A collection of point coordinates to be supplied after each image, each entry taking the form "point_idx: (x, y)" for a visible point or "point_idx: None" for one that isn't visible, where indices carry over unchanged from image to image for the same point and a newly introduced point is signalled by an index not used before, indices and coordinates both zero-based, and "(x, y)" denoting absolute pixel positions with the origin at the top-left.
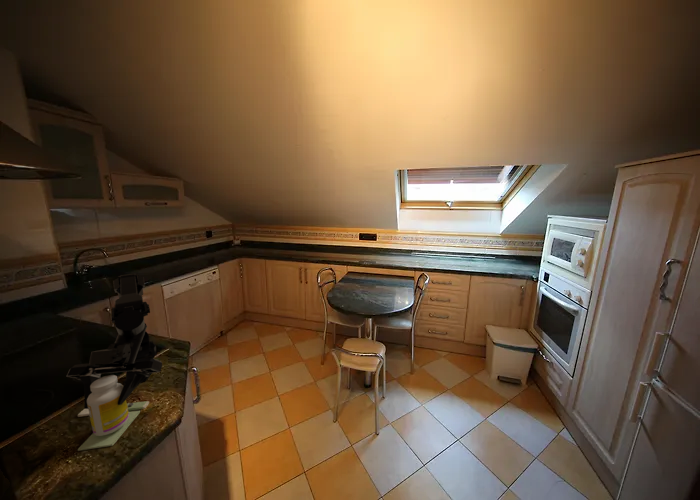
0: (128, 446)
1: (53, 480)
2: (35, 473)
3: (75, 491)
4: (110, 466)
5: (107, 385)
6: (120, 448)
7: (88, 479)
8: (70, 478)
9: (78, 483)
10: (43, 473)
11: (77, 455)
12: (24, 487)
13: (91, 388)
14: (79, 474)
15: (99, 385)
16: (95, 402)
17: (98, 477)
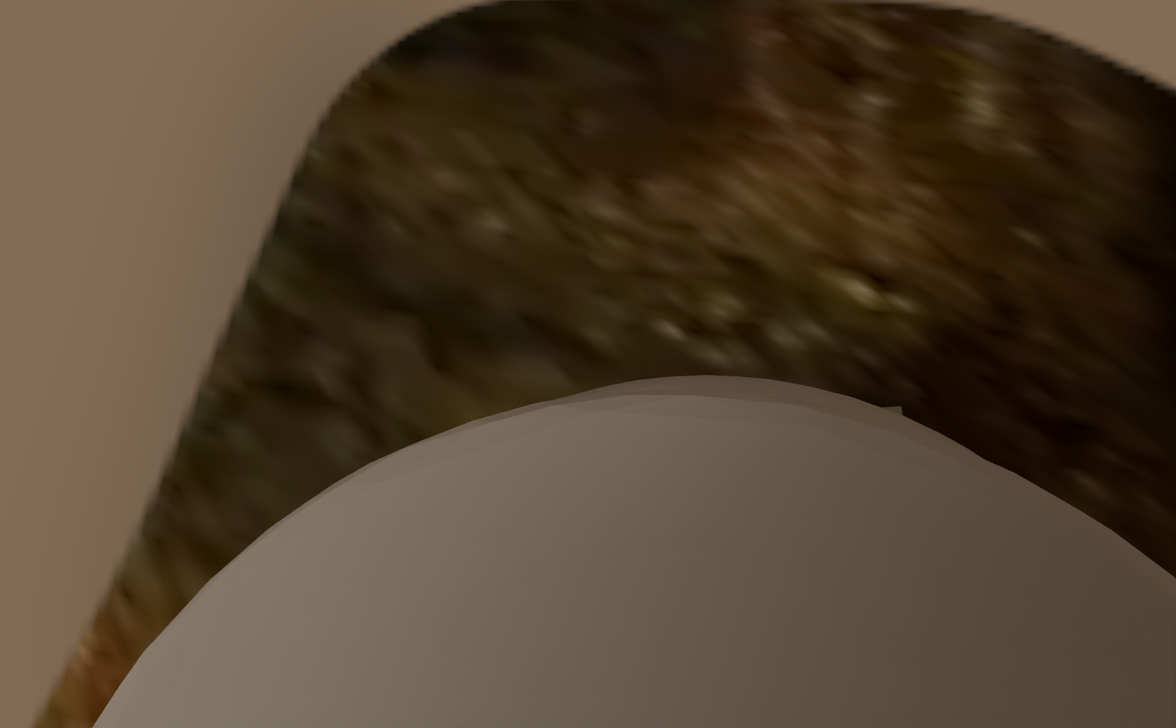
0: (335, 412)
1: (820, 102)
2: (1113, 176)
3: (512, 12)
4: (372, 204)
5: (191, 656)
6: (407, 395)
7: (484, 99)
8: (665, 114)
9: (546, 70)
10: (1016, 172)
11: (841, 350)
12: (1048, 52)
13: (960, 455)
14: (612, 145)
15: (588, 621)
16: (660, 382)
17: (407, 112)
